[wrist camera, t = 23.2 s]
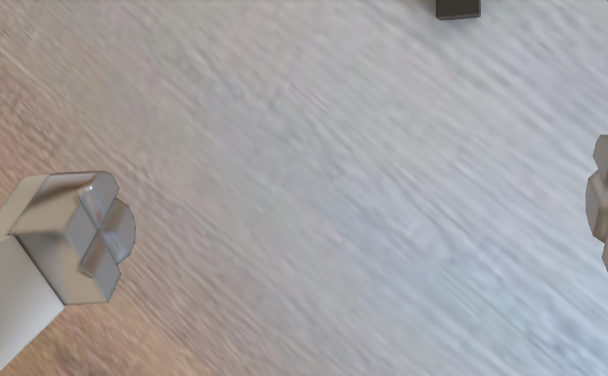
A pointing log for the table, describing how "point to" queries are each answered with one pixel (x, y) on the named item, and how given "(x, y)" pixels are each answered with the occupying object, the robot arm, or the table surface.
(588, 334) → the table surface
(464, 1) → the serving spoon
